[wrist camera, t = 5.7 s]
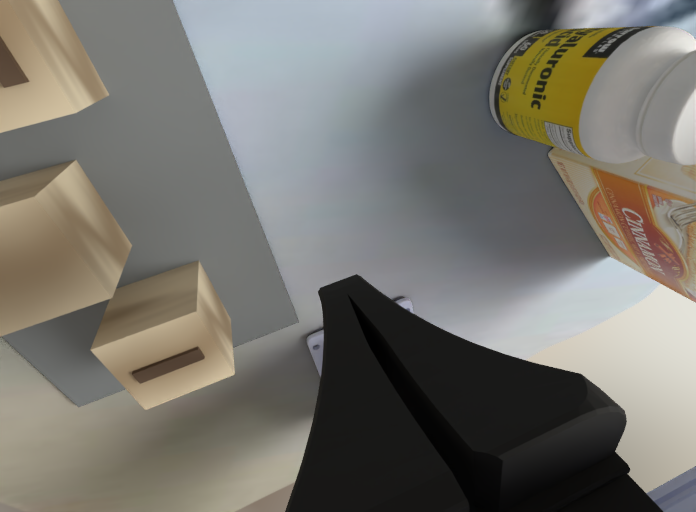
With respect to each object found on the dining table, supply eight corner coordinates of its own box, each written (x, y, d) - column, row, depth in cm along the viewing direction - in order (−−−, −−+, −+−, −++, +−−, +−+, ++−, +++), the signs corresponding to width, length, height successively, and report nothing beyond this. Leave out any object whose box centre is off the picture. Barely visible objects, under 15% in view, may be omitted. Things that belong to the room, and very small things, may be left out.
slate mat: (297, 319, 24) (298, 322, 24) (80, 403, 22) (78, 407, 22) (111, -155, 12) (109, -159, 11) (-429, -71, 10) (-446, -74, 9)
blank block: (132, 245, 18) (112, 297, 14) (36, 276, 17) (-11, 340, 14) (75, 159, 15) (34, 196, 12) (-39, 192, 15) (-121, 242, 11)
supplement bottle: (537, 4, 19) (779, -22, 11) (578, 75, 22) (793, 95, 14) (467, 95, 20) (638, 130, 12) (515, 150, 23) (678, 208, 15)
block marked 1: (230, 318, 22) (235, 377, 18) (156, 346, 21) (144, 413, 17) (198, 260, 19) (196, 314, 16) (113, 289, 19) (88, 353, 15)
